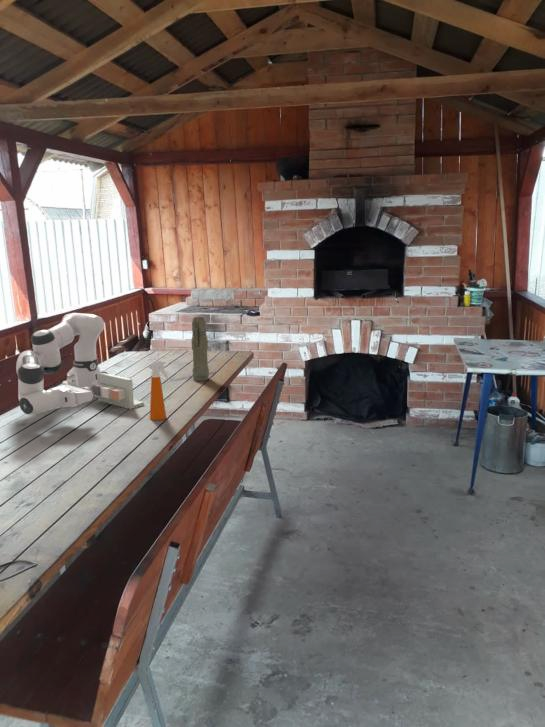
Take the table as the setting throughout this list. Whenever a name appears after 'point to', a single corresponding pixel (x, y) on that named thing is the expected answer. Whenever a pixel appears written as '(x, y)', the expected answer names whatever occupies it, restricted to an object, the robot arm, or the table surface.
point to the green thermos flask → (199, 349)
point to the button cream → (107, 391)
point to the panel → (119, 383)
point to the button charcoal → (98, 389)
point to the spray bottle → (157, 392)
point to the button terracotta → (118, 394)
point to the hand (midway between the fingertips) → (89, 388)
